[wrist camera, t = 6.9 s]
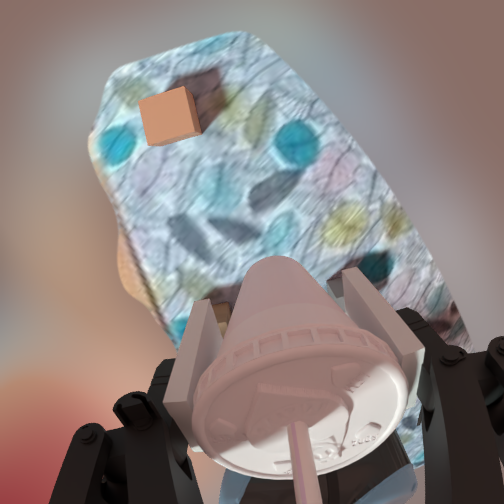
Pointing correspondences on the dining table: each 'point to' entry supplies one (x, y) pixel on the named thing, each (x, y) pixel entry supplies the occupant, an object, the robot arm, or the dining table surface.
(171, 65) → the dining table surface
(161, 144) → the terracotta block
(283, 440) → the smoothie
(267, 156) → the dining table surface
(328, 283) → the grey cube
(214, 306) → the walnut block
